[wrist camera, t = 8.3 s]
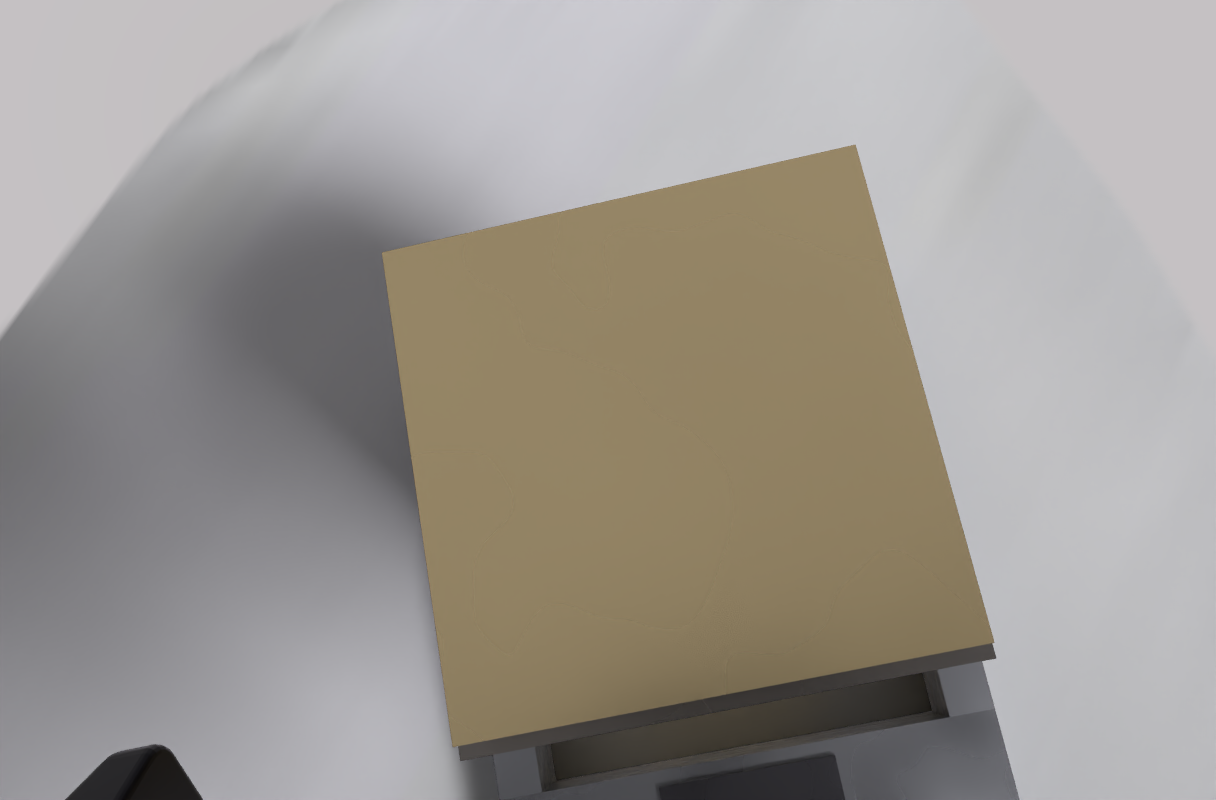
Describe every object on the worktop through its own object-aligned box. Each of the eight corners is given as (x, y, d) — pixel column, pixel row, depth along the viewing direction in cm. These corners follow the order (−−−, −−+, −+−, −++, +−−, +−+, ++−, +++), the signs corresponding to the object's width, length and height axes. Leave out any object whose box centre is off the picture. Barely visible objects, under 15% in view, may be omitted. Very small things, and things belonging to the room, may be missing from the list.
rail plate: (1029, 912, 17) (1058, 938, 16) (548, 994, 18) (532, 1027, 16) (858, 270, 20) (868, 240, 19) (451, 358, 21) (428, 335, 19)
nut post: (840, 647, 19) (1021, 659, 7) (613, 691, 19) (436, 770, 7) (786, 426, 20) (869, 123, 8) (573, 471, 20) (362, 239, 8)
